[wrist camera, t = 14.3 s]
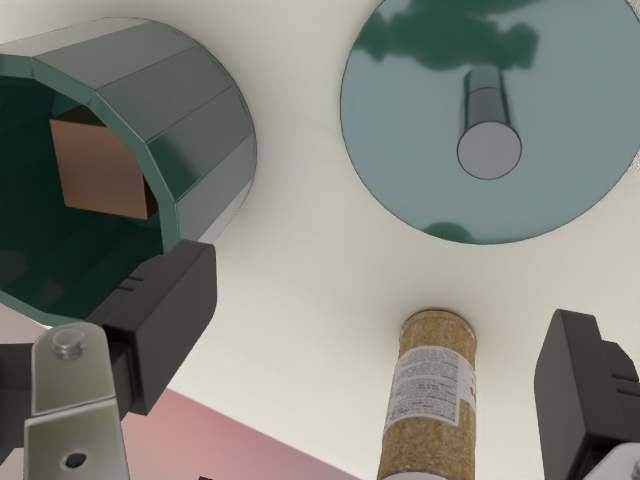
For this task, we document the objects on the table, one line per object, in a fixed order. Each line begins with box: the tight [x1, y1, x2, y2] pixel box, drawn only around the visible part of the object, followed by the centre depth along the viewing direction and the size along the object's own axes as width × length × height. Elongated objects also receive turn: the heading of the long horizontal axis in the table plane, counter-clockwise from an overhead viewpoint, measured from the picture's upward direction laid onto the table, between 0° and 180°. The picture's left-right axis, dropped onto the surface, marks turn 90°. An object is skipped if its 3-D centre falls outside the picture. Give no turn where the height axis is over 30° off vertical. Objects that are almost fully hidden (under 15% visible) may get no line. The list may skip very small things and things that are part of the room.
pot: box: [0, 17, 257, 327], centre depth 27 cm, size 13×13×10 cm
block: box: [49, 104, 159, 220], centre depth 29 cm, size 5×5×5 cm
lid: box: [340, 0, 640, 245], centre depth 24 cm, size 14×14×6 cm
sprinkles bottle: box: [377, 311, 477, 480], centre depth 28 cm, size 5×5×14 cm
